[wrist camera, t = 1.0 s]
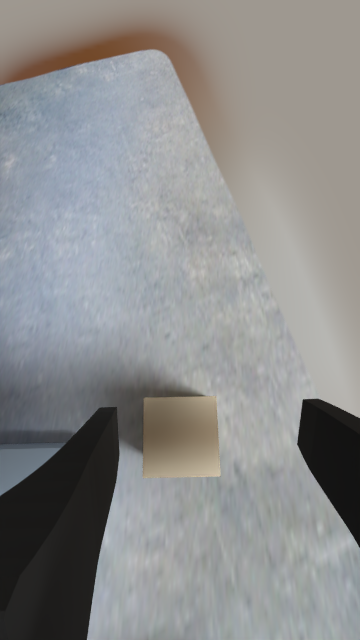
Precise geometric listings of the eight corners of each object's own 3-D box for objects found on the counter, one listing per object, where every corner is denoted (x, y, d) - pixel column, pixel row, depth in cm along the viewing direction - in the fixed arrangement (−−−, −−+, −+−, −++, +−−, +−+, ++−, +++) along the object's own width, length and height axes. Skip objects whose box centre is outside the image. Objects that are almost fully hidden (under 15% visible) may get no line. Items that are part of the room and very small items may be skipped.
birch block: (210, 456, 23) (220, 476, 17) (152, 457, 23) (142, 478, 17) (207, 396, 24) (216, 396, 18) (152, 397, 24) (143, 397, 18)
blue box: (86, 591, 21) (70, 623, 18) (-55, 595, 21) (-93, 628, 18) (93, 441, 23) (80, 447, 20) (-32, 444, 23) (-62, 451, 20)
